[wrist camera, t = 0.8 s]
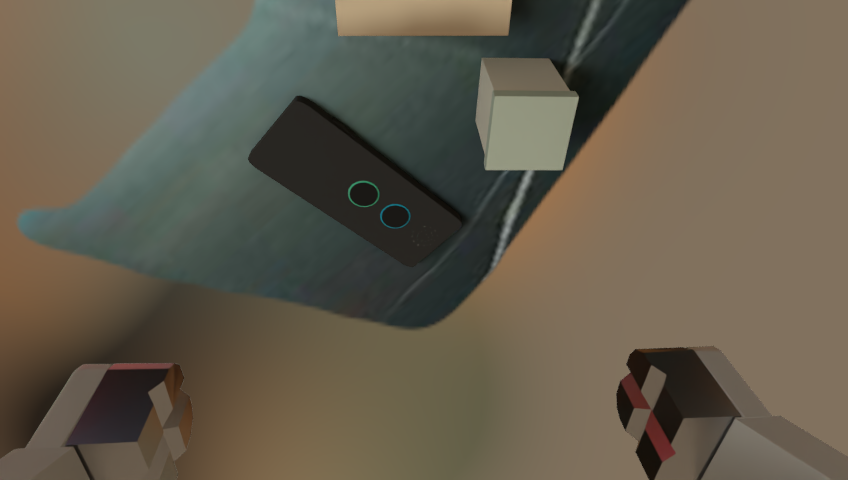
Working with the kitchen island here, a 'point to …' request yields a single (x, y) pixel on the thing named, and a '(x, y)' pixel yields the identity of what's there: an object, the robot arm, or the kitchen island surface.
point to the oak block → (423, 17)
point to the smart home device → (353, 183)
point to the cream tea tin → (524, 114)
